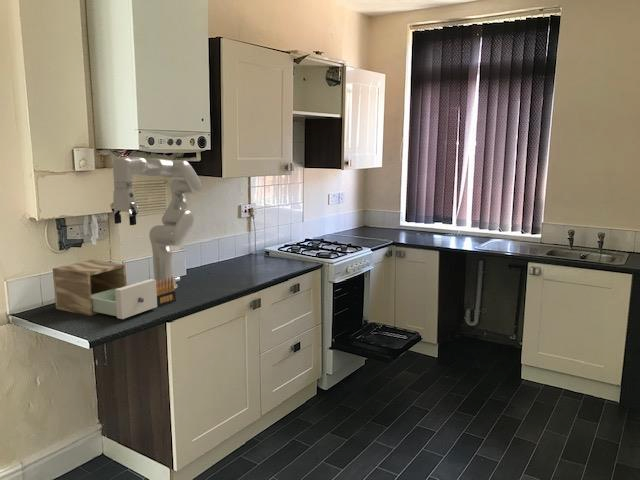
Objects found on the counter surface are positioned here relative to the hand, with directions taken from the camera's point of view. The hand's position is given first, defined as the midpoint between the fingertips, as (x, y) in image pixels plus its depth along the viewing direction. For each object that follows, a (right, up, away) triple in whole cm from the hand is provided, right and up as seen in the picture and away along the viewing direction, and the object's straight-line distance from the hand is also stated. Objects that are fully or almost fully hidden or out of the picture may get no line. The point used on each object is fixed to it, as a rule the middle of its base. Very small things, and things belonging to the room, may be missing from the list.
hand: (125, 224), depth 242 cm
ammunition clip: (+18, -36, +1) cm, 40 cm away
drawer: (+3, -37, -11) cm, 38 cm away
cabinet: (-14, -37, -2) cm, 39 cm away
